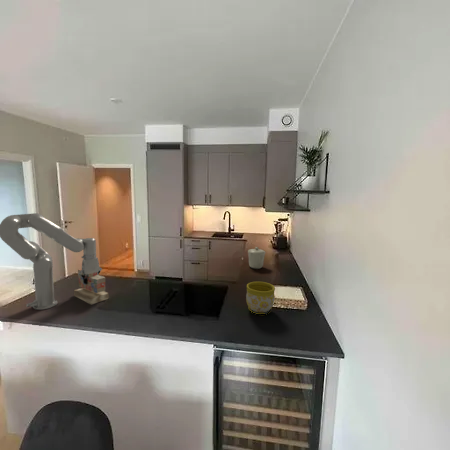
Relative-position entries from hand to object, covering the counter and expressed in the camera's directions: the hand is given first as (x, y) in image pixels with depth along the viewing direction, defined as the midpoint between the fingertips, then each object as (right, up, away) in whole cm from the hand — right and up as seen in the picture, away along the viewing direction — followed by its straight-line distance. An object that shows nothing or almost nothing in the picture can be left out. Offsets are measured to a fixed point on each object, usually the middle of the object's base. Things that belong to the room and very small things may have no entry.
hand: (90, 282), depth 175 cm
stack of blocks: (+1, -5, 0) cm, 5 cm away
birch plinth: (0, -11, +1) cm, 11 cm away
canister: (+123, -4, +87) cm, 150 cm away
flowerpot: (+113, -17, -9) cm, 115 cm away
